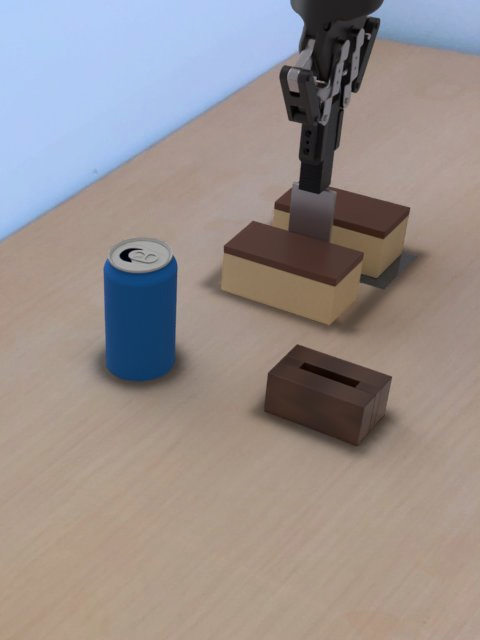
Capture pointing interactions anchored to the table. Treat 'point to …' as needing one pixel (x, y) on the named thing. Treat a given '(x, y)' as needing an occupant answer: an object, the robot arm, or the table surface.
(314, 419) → the knife block
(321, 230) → the knife
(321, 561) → the table surface
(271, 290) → the cake slice
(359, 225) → the block
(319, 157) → the robot arm
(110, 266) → the beverage can
